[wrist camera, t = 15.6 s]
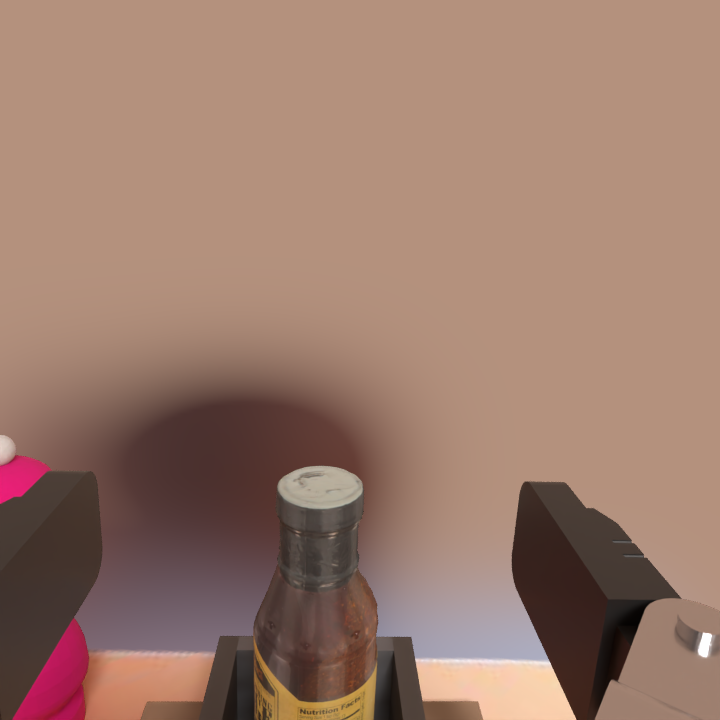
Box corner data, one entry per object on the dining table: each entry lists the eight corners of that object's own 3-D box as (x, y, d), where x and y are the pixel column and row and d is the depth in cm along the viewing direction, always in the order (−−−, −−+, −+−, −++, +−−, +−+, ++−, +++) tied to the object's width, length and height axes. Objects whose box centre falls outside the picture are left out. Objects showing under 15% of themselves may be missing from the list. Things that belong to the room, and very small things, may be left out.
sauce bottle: (269, 749, 37) (269, 445, 32) (372, 759, 37) (389, 454, 32) (240, 862, 31) (235, 507, 26) (364, 876, 30) (384, 518, 25)
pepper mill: (35, 794, 35) (-5, 473, 30) (-65, 759, 37) (-119, 451, 31) (117, 698, 42) (95, 422, 36) (29, 673, 43) (-3, 407, 38)
